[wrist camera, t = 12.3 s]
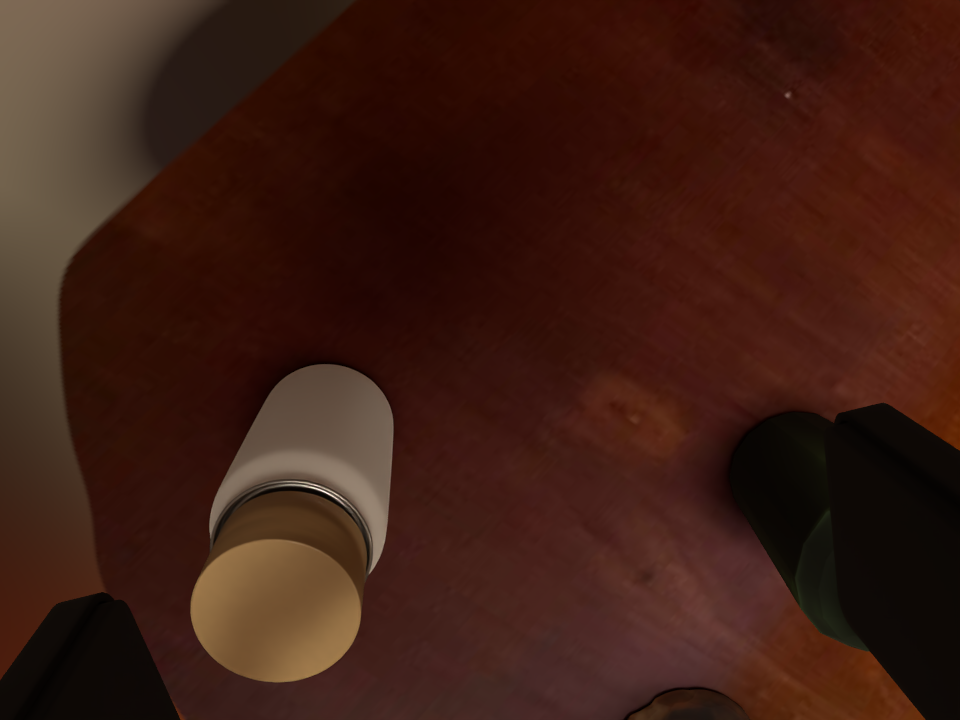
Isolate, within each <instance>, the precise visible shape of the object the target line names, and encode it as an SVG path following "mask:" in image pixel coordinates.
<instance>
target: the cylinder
mask: <svg viewBox="0 0 960 720" xmlns="http://www.w3.org/2000/svg"><path fill="white" fill-rule="evenodd" d="M366 566H367V550H366V545H365V541H364V538H363V535H362V533H361V531H360V529H359V528H358V526H357V525H356V523H355V522H354V520H353V519H352V518H351V517H350V516H349V515H348V514H347V513H346V512H345V511H344V510H343V509H341V508H340V507H339V506H337V505H336V504H334V503H333V502H331V501H329V500H327V499H325V498H323V497H320V496H317V495H314V494H311V493H306V492H299V491H280V492H273V493H269V494H265V495H262V496H259V497H257V498H254V499H252V500H250V501H249V502H247V503H245V504H244V505H242V506H241V507H240V508H238V509H237V510H236V511H235V512H234V513H233V514H232V515H231V516H230V517H229V518H228V520H227V521H226V522H225V524H224V525H223V527H222V529H221V531H220V533H219V535H218V537H217V539H216V542H215V544H214V546H213V548H212V550H211V552H210V554H209V556H208V559H207V561H206V563H205V565H204V567H203V569H202V571H201V573H200V576H199V578H198V580H197V582H196V584H195V587H194V590H193V593H192V598H191V610H190V611H191V620H192V624H193V627H194V631H195V633H196V635H197V637H198V639H199V641H200V643H201V644H202V646H203V647H204V648H205V650H206V651H207V652H208V653H209V654H210V655H211V656H212V657H213V658H214V659H215V660H216V661H217V662H218V663H220V664H221V665H223V666H224V667H225V668H227V669H229V670H231V671H233V672H234V673H237V674H239V675H242V676H244V677H247V678H251V679H254V680H259V681H265V682H289V681H296V680H300V679H304V678H308V677H310V676H313V675H316V674H318V673H320V672H322V671H324V670H325V669H327V668H329V667H330V666H331V665H333V664H334V663H336V662H337V661H338V660H339V659H340V658H341V657H342V656H343V655H344V654H345V653H346V651H347V650H348V649H349V648H350V646H351V644H352V643H353V641H354V639H355V637H356V635H357V632H358V629H359V625H360V619H361V611H362V602H363V593H364V584H365V575H366Z"/></svg>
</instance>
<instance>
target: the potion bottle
mask: <svg viewBox="0 0 960 720" xmlns="http://www.w3.org/2000/svg"><path fill="white" fill-rule="evenodd" d="M832 426H834V423H833V422H831V421H829V420H827V419H825V418H823V417H821V416H820V415H818V414H814V413H800V412H791V413H787V414H784V415H781V416H777V417H774V418H771V419H768V420H767V421H765V422H764V423H763V424H761V425H760V426H759V427H757V428H756V429H755V430H753V431H752V432H750V433H749V434H748V435H747V436H746V438H745V439H744V441H743V442H742V444H741V445H740V447H739V448H738V450H737V451H736V453H735V454H734V458H733V463H732V467H731V472H730V477H729V478H730V482H731V487H732V492H733V496H734V499H735V501H736V502H737V504H738V506H739V507H740V509H741V511H742V512H743V514H744V516H745V517H746V519H747V520H748V522H749V524H750V525H751V527H752V529H753V530H754V532H755V534H756V535H757V537H758V539H759V540H760V542H761V544H762V545H763V547H764V549H765V550H766V552H767V554H768V555H769V557H770V558H771V560H772V562H773V563H774V565H775V567H776V568H777V570H778V572H779V573H780V575H781V577H782V578H783V580H784V582H785V583H786V585H787V587H788V588H789V590H790V592H791V593H792V595H793V597H794V598H795V600H796V601H797V603H798V605H799V606H800V608H801V610H802V611H803V612H804V613H805V614H806V616H807V617H808V618H809V619H810V621H811V622H812V623H813V624H814V626H815V627H816V628H817V629H818V631H819V632H820V633H822V634H824V635H826V636H828V637H831V638H833V639H835V640H837V641H839V642H841V643H844V644H846V645H848V646H851V647H854V648H857V649H861V650H864V651H869V649H868V648H867V647H866V646H865V644H864V643H863V642H862V641H861V640H860V638H859V637H858V636H857V635H856V633H855V632H854V631H853V630H852V628H851V627H850V626H849V624H848V623H847V621H846V619H845V617H844V615H843V612H842V610H841V607H840V603H839V598H838V590H837V579H836V568H835V557H834V546H833V535H832V524H831V513H830V503H829V492H828V481H827V470H826V459H825V448H824V432H825V430H826V428H827V427H832Z"/></svg>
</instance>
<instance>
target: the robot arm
mask: <svg viewBox="0 0 960 720" xmlns="http://www.w3.org/2000/svg"><path fill="white" fill-rule="evenodd" d="M824 448H825V459H826V470H827V481H828V492H829V503H830V513H831V524H832V535H833V546H834V557H835V568H836V579H837V590H838V598H839V603H840V607H841V610H842V612H843V615H844V617H845V619H846V621H847V623H848V624H849V626H850V627H851V628H852V630H853V631H854V632H855V633H856V635H857V636H858V637H859V638H860V640H861V641H862V642H863V643H864V644H865V646H866V647H867V648H868V649H869V651H870V652H871V653H872V654H873V655H874V657H875V658H876V659H877V660H878V662H879V663H880V664H881V665H882V667H883V668H884V669H885V670H886V671H887V673H888V674H889V675H890V676H891V678H892V679H893V680H894V681H895V683H896V684H897V685H898V686H899V687H900V689H901V690H902V691H903V692H904V694H905V695H906V696H907V697H908V698H909V700H910V701H911V702H912V703H913V705H914V706H915V707H916V708H917V710H918V711H919V712H920V713H921V714H922V716H923V717H924V718H925V719H926V720H960V451H959V450H958V449H956V448H954V447H953V446H951V445H950V444H948V443H947V442H945V441H944V440H942V439H941V438H939V437H938V436H936V435H935V434H933V433H931V432H930V431H928V430H927V429H925V428H924V427H922V426H921V425H919V424H918V423H916V422H915V421H913V420H912V419H910V418H908V417H907V416H905V415H904V414H902V413H901V412H899V411H898V410H896V409H895V408H893V407H892V406H890V405H888V404H886V403H879V404H875V405H871V406H867V407H863V408H859V409H854V410H850V411H846V412H842V413H839V414H838V415H837V416H836V419H835V422H834V426H832V427H827V428H826V430H825V432H824ZM0 720H180V718H179V715H178V713H177V711H176V709H175V707H174V704H173V702H172V700H171V698H170V696H169V694H168V691H167V689H166V687H165V685H164V683H163V680H162V678H161V676H160V674H159V672H158V670H157V667H156V665H155V663H154V661H153V659H152V656H151V654H150V652H149V650H148V648H147V645H146V643H145V641H144V639H143V637H142V635H141V632H140V630H139V628H138V626H137V624H136V621H135V619H134V617H133V615H132V613H131V611H130V609H129V607H128V605H127V604H126V603H125V602H124V601H122V600H115V601H114V599H113V598H112V597H111V596H110V595H109V594H107V593H103V592H101V593H97V594H93V595H89V596H85V597H81V598H77V599H73V600H69V601H65V602H61V603H58V604H56V605H55V606H54V607H53V608H52V609H51V611H50V612H49V613H48V615H47V616H46V618H45V619H44V620H43V622H42V623H41V625H40V626H39V627H38V629H37V630H36V632H35V633H34V634H33V636H32V637H31V639H30V640H29V641H28V643H27V644H26V645H25V647H24V648H23V650H22V651H21V653H20V654H19V655H18V656H17V658H16V659H15V661H14V662H13V663H12V665H11V666H10V668H9V669H8V670H7V672H6V673H5V674H4V676H3V677H2V679H1V680H0Z"/></svg>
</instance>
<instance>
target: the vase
mask: <svg viewBox="0 0 960 720" xmlns="http://www.w3.org/2000/svg"><path fill="white" fill-rule="evenodd" d="M627 720H750V719H749V717H748V716H747V714H746V713H745V712H744V710H743V709H742V708H741V707H740V706H739V705H737V704H736V703H735V702H733V701H731V700H730V699H729V698H728V697H726V696H724V695H722V694H719V693H715V692H712V691H708V690H701V689H696V690H683V689H681V690H676V691H672V692H669V693H665V694H663V695H661V696H659V697H657V698H655V700H654V701H653V702H652V704H651V705H649V706H648V707H646V708H644V709H643V710H641V711H639V712H636V713H634V714H632V715H631V716H630V717H629V718H628V719H627Z"/></svg>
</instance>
